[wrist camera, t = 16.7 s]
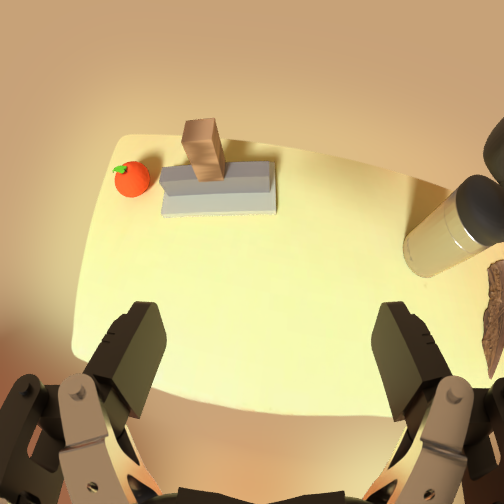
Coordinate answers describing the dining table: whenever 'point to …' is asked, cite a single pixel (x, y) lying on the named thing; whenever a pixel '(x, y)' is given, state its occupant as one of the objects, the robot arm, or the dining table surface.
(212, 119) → the walnut post
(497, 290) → the wooden fragment
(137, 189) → the clementine
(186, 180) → the ridge stand
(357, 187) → the dining table surface
